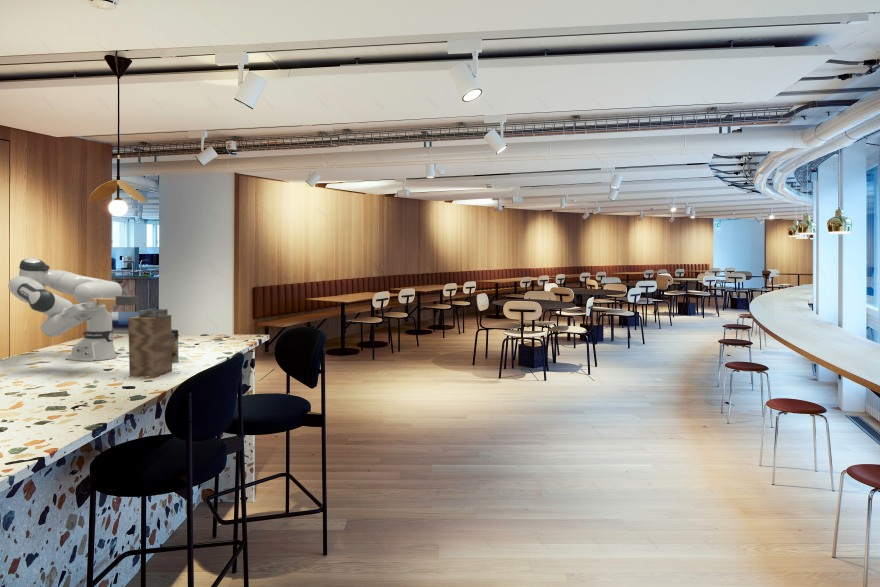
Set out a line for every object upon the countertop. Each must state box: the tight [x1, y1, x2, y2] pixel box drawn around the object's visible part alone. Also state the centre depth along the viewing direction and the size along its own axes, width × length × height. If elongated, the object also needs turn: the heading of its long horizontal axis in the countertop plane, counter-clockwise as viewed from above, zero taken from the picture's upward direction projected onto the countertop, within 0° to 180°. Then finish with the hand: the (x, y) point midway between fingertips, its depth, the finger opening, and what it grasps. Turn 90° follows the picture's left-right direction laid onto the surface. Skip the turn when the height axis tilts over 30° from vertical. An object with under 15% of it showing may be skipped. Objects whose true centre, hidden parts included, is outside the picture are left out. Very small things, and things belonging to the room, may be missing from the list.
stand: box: [127, 308, 173, 378], centre depth 270 cm, size 12×14×29 cm
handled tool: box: [90, 294, 138, 307], centre depth 270 cm, size 20×5×4 cm, turn 87°
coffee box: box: [171, 328, 180, 364], centre depth 296 cm, size 9×6×16 cm
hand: (100, 300), depth 270 cm, fingers closed on handled tool, 3 cm apart
